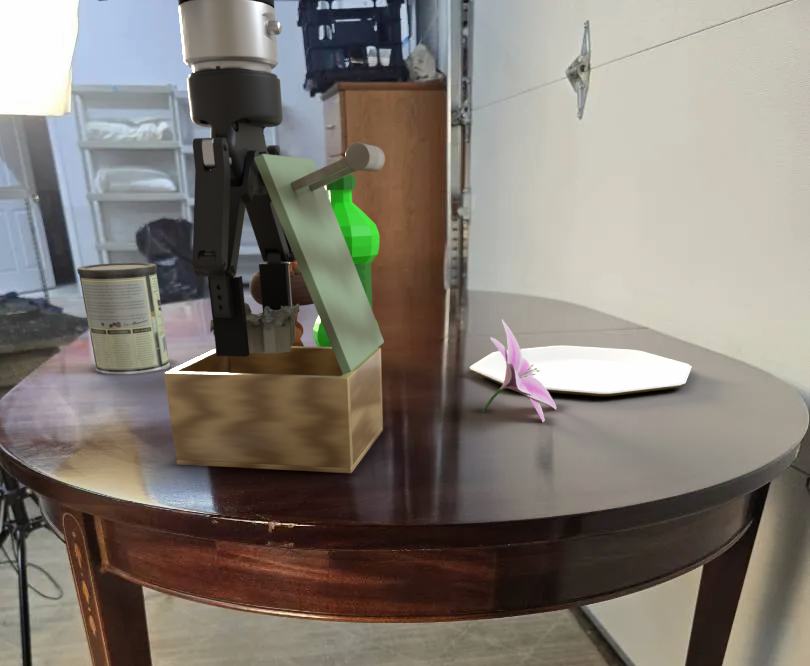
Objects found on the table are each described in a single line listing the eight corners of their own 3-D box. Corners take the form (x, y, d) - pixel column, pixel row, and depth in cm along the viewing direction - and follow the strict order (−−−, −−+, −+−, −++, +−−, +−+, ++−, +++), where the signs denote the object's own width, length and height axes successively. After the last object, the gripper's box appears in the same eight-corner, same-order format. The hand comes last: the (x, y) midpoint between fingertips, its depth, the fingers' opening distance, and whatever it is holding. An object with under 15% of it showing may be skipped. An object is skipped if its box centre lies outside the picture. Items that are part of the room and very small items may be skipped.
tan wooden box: (177, 468, 71) (163, 372, 68) (232, 426, 83) (224, 344, 80) (351, 477, 69) (347, 378, 65) (383, 433, 81) (380, 348, 77)
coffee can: (87, 367, 112) (68, 265, 107) (156, 359, 118) (142, 261, 112) (107, 380, 105) (88, 271, 99) (180, 370, 110) (167, 266, 104)
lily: (500, 447, 79) (553, 366, 75) (426, 386, 84) (472, 307, 80) (553, 454, 88) (602, 382, 85) (484, 398, 94) (527, 328, 90)
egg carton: (229, 336, 77) (224, 294, 75) (304, 335, 77) (301, 292, 75) (205, 357, 67) (199, 309, 66) (291, 356, 67) (287, 307, 66)
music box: (354, 391, 97) (334, 220, 88) (270, 408, 94) (240, 232, 85) (317, 368, 110) (296, 217, 101) (242, 382, 106) (213, 227, 97)
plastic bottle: (300, 358, 117) (287, 176, 107) (358, 349, 123) (351, 176, 112) (335, 369, 110) (325, 174, 99) (395, 359, 115) (391, 174, 105)
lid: (253, 157, 59) (344, 113, 57) (306, 162, 71) (382, 126, 69) (342, 374, 65) (428, 342, 62) (377, 344, 77) (450, 317, 75)
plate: (544, 413, 87) (544, 400, 86) (442, 366, 110) (442, 356, 110) (735, 388, 96) (737, 377, 96) (604, 350, 120) (605, 340, 119)
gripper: (218, 45, 52) (250, 371, 61) (318, 86, 73) (330, 323, 82) (116, 50, 53) (161, 368, 62) (243, 89, 74) (263, 322, 83)
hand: (257, 343), depth 72 cm, fingers closed on egg carton, 11 cm apart
